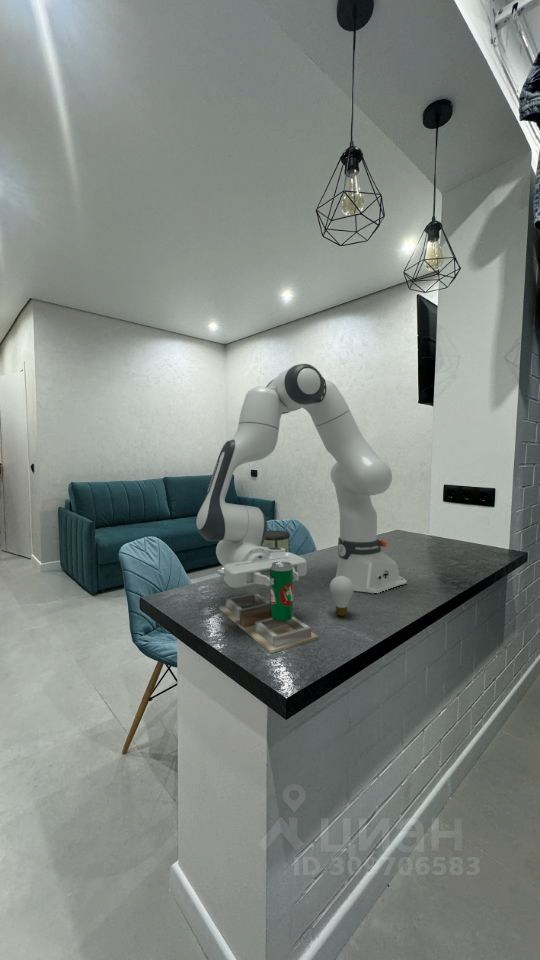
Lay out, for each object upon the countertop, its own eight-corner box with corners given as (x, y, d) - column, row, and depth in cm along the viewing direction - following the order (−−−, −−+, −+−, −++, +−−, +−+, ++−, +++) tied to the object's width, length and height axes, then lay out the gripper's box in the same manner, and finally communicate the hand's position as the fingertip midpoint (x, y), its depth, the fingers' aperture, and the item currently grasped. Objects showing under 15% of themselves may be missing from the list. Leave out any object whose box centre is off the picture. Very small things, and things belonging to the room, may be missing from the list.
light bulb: (331, 610, 101) (331, 571, 100) (354, 612, 99) (355, 574, 99) (327, 619, 95) (328, 579, 95) (352, 622, 94) (352, 581, 93)
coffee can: (266, 569, 136) (266, 529, 135) (294, 573, 132) (294, 531, 131) (253, 578, 127) (252, 535, 126) (282, 582, 123) (282, 538, 122)
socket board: (219, 609, 101) (219, 597, 101) (259, 600, 107) (259, 589, 107) (270, 653, 79) (270, 638, 79) (318, 639, 85) (318, 625, 85)
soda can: (270, 613, 88) (270, 560, 88) (292, 613, 88) (292, 560, 88) (270, 622, 83) (269, 566, 83) (293, 622, 83) (293, 566, 83)
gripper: (214, 556, 91) (240, 572, 79) (287, 546, 102) (321, 559, 90) (214, 583, 92) (240, 603, 80) (287, 570, 102) (320, 586, 90)
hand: (283, 579), depth 85 cm, fingers closed on soda can, 5 cm apart
